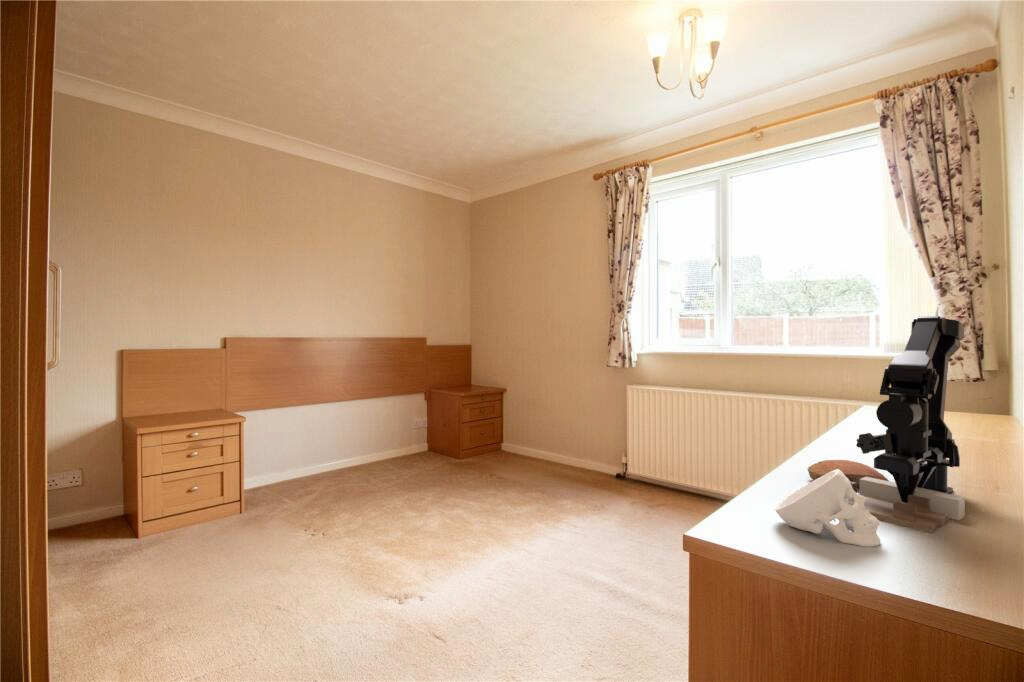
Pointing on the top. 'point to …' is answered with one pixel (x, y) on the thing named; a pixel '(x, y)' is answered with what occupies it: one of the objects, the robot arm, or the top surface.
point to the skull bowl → (831, 510)
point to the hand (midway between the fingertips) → (908, 500)
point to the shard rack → (905, 512)
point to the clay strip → (938, 500)
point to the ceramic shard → (844, 470)
